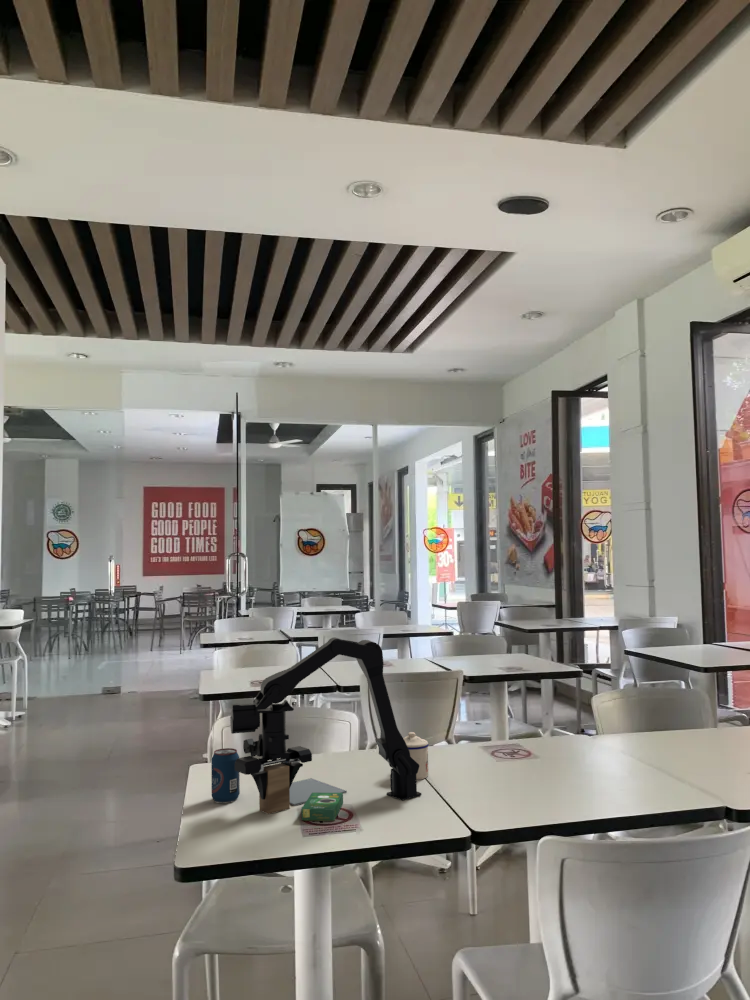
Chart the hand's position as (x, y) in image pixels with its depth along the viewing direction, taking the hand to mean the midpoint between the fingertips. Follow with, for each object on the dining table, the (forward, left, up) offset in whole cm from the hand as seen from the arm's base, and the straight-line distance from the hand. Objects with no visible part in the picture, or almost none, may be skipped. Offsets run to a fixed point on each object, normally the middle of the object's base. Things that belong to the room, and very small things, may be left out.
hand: (274, 796), depth 187 cm
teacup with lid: (0, -44, -3) cm, 44 cm away
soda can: (+15, +5, -3) cm, 16 cm away
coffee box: (-5, -12, -2) cm, 13 cm away
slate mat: (+7, -13, -3) cm, 15 cm away
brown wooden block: (0, 0, -3) cm, 3 cm away
